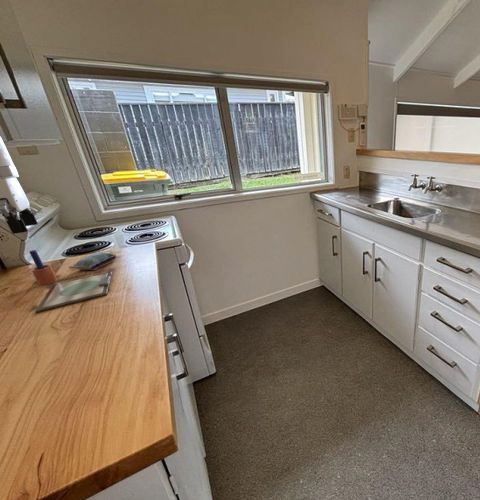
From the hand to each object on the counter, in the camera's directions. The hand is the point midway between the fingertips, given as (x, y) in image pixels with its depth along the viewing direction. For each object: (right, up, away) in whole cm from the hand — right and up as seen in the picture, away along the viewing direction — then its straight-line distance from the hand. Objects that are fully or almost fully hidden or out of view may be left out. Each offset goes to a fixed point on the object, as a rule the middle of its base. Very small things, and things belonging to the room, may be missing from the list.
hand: (26, 228), depth 89 cm
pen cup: (-2, -18, +8) cm, 20 cm away
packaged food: (+4, -14, +20) cm, 24 cm away
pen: (-2, -18, +8) cm, 20 cm away
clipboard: (+14, -20, +3) cm, 25 cm away
